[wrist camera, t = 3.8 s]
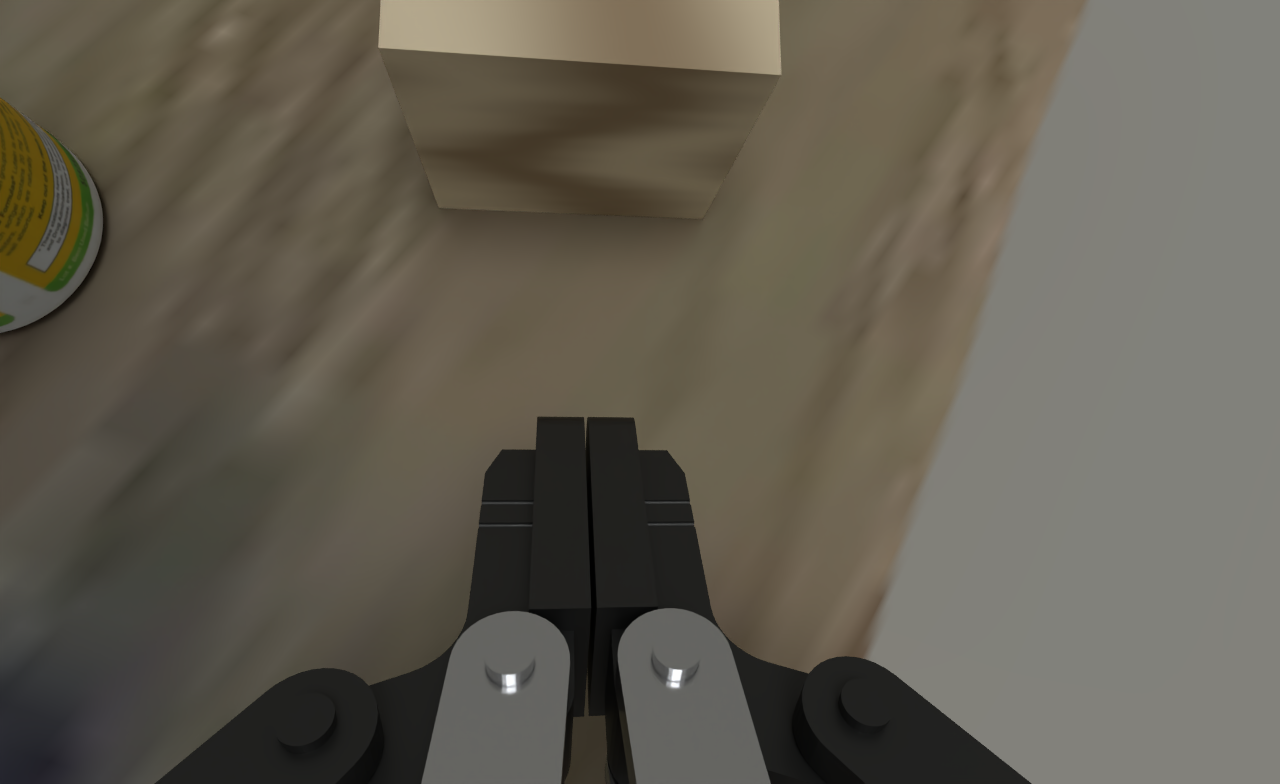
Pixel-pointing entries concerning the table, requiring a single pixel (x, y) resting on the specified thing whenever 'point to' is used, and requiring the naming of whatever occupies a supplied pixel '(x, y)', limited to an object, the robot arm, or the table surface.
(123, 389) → the table surface
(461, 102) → the oak block
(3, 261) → the supplement bottle
